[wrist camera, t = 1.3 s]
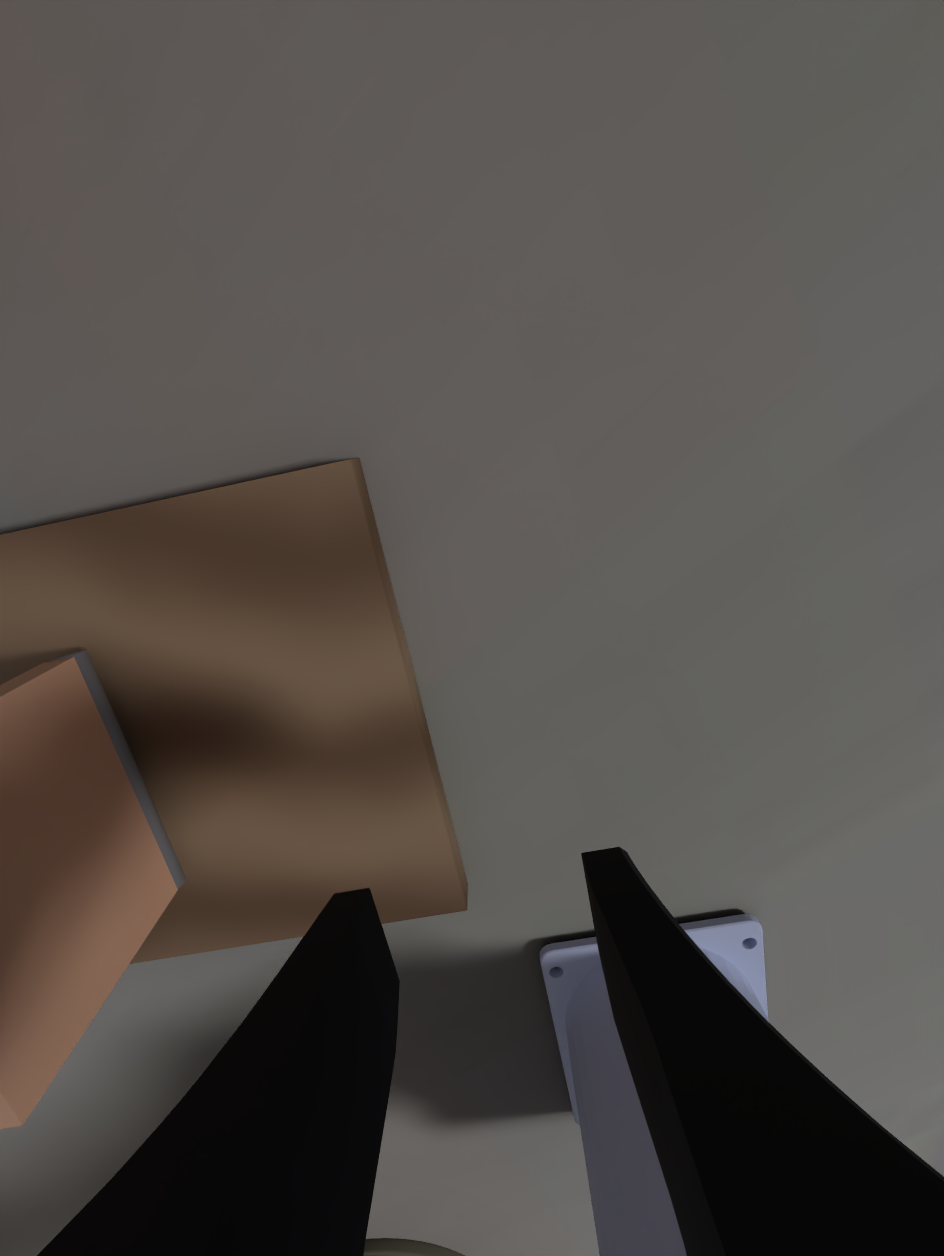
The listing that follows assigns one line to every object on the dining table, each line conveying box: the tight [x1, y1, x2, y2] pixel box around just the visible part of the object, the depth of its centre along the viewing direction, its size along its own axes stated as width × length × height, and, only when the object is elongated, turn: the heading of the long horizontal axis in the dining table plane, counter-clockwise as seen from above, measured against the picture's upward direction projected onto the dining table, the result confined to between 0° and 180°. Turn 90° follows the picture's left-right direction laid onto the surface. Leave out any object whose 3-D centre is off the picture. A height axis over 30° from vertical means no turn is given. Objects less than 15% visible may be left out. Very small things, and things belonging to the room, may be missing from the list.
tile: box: [0, 649, 186, 1129], centre depth 14 cm, size 8×7×1 cm
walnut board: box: [0, 458, 468, 964], centre depth 19 cm, size 15×18×1 cm
